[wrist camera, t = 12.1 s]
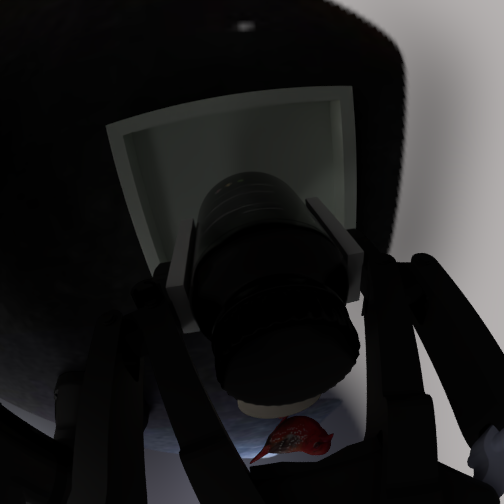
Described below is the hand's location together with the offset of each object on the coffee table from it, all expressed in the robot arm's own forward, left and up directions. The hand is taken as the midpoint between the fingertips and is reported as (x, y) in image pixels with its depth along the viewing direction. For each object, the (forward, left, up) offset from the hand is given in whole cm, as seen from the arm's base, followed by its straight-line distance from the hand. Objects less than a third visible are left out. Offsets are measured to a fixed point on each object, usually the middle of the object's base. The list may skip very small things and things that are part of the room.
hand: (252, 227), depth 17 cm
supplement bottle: (0, 0, -2) cm, 2 cm away
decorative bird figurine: (0, -36, -6) cm, 37 cm away
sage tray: (0, 0, -5) cm, 5 cm away
